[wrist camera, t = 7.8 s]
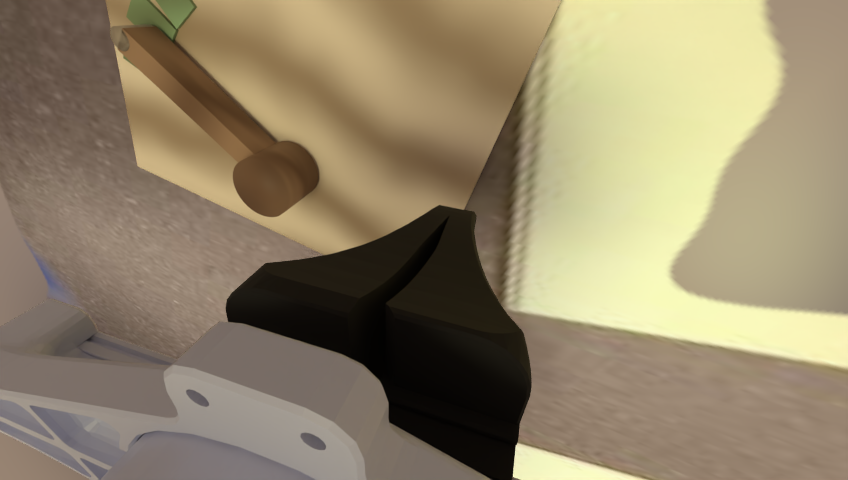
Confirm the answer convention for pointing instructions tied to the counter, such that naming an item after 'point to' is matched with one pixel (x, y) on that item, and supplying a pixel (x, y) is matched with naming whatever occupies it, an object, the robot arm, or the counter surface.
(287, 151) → the tuning peg
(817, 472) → the counter surface
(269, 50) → the dial board
